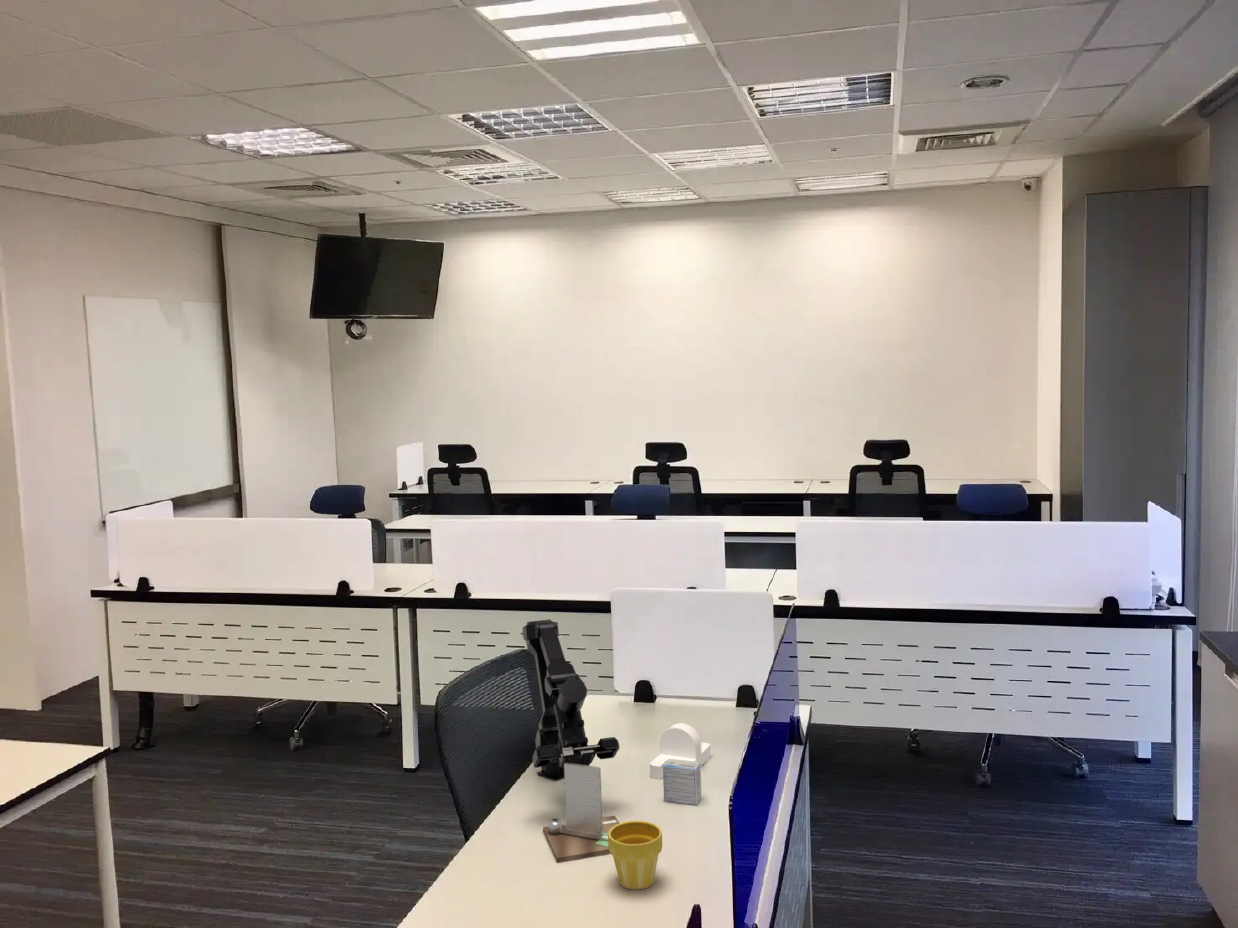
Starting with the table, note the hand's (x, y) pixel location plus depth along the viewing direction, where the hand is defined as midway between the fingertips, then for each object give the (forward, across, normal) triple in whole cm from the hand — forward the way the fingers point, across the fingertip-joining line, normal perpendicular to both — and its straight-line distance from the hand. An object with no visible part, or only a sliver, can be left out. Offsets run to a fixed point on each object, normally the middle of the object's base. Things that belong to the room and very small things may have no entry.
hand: (583, 789), depth 206 cm
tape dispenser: (-9, -31, -20) cm, 39 cm away
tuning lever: (+9, +2, 0) cm, 10 cm away
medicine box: (+3, -25, -8) cm, 26 cm away
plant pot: (+24, -3, +13) cm, 27 cm away
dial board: (+10, +1, -1) cm, 10 cm away
